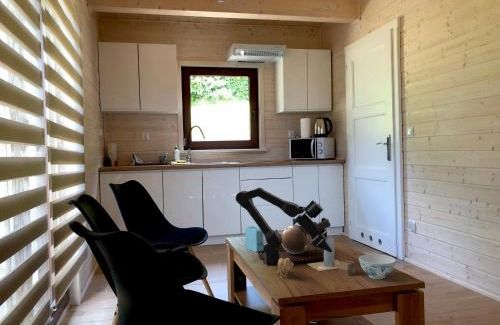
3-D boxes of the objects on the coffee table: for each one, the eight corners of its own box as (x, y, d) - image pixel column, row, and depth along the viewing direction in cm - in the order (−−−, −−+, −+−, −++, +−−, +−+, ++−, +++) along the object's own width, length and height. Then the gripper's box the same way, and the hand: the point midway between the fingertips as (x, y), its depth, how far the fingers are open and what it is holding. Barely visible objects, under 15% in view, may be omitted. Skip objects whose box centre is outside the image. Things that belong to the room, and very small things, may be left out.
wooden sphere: (275, 252, 222) (275, 224, 221) (299, 249, 228) (299, 221, 228) (291, 259, 208) (290, 229, 207) (315, 255, 215) (315, 226, 214)
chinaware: (352, 273, 184) (351, 256, 183) (380, 269, 189) (380, 252, 188) (373, 284, 169) (373, 265, 169) (403, 279, 175) (403, 261, 174)
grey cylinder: (331, 267, 192) (330, 239, 192) (322, 265, 195) (321, 238, 195) (336, 265, 196) (335, 237, 195) (327, 263, 199) (326, 236, 198)
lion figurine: (295, 279, 178) (294, 258, 177) (283, 281, 176) (282, 259, 176) (282, 269, 192) (282, 250, 191) (271, 270, 190) (271, 251, 190)
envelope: (319, 271, 188) (319, 270, 188) (307, 264, 199) (307, 263, 199) (349, 267, 193) (349, 266, 193) (336, 260, 204) (336, 259, 204)
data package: (263, 251, 225) (263, 229, 224) (256, 252, 222) (256, 230, 222) (252, 247, 235) (251, 225, 234) (245, 248, 233) (244, 226, 232)
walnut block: (347, 275, 181) (347, 264, 181) (339, 273, 185) (338, 261, 185) (355, 273, 184) (355, 262, 184) (347, 270, 188) (346, 259, 188)
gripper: (318, 216, 186) (344, 242, 184) (321, 210, 204) (345, 233, 202) (301, 233, 188) (326, 259, 186) (305, 225, 206) (328, 248, 204)
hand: (332, 249), depth 195 cm, fingers open, 9 cm apart
